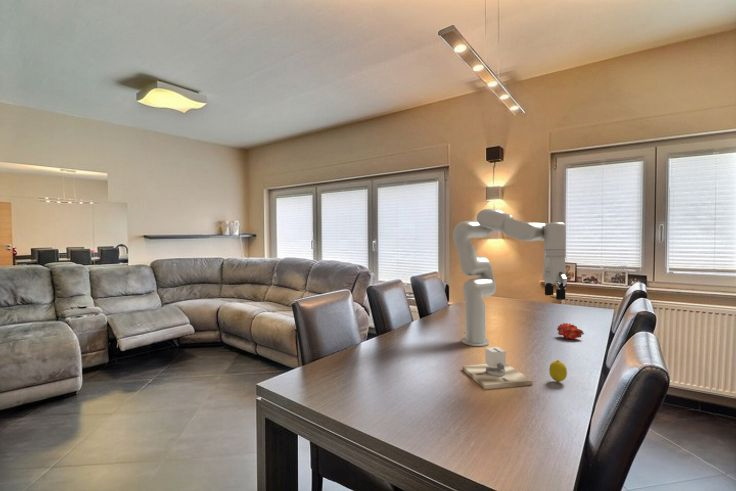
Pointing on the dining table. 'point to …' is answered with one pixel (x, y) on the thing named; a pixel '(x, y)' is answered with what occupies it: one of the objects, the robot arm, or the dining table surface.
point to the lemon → (558, 371)
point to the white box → (495, 357)
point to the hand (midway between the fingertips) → (554, 297)
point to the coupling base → (496, 376)
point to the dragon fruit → (569, 331)
